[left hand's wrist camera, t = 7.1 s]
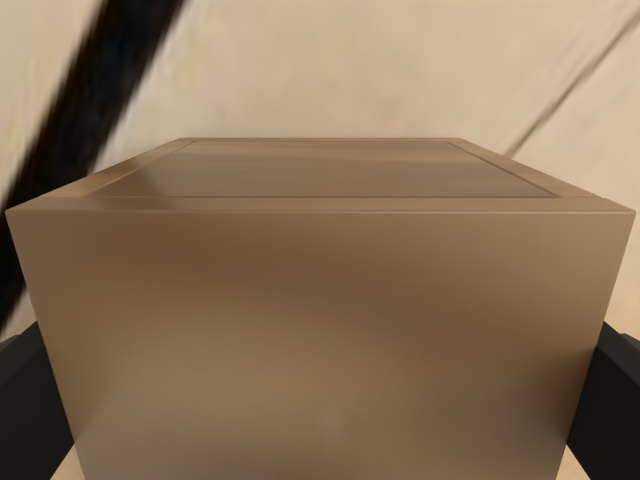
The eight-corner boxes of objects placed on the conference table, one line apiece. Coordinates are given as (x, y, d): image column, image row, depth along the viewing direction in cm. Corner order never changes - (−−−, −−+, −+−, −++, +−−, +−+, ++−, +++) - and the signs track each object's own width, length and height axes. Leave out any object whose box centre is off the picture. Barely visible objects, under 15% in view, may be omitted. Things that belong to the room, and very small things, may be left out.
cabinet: (416, 496, 24) (474, 750, 15) (224, 496, 24) (165, 749, 15) (461, 137, 16) (638, 210, 7) (179, 137, 16) (2, 210, 7)
